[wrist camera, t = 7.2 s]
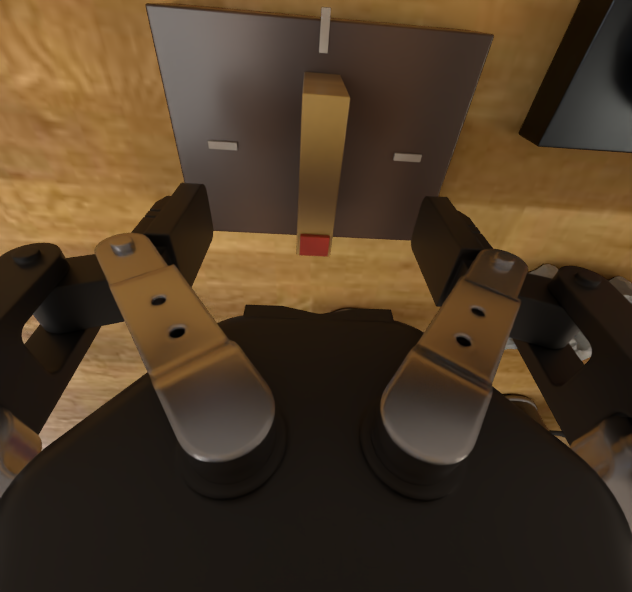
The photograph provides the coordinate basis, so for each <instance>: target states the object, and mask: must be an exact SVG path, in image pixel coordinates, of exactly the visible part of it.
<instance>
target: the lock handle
mask: <svg viewBox="0 0 632 592" xmlns="http://www.w3.org/2000/svg"><path fill="white" fill-rule="evenodd" d="M349 105H350V96H349V94H348V92H347V89H346V87H345V85H344V83H343V80H342V78H341V76H340V75H336V74H325V73H313V72H304V79H303V92H302V115H301V141H300V167H299V193H298V220H297V246H296V254H297V255H305V256H324V257H330V253H331V245H332V238H333V230H334V222H335V214H336V206H337V199H338V191H339V183H340V175H341V167H342V160H343V152H344V144H345V136H346V128H347V121H348V113H349Z"/></svg>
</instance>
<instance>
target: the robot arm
mask: <svg viewBox="0 0 632 592" xmlns="http://www.w3.org/2000/svg"><path fill="white" fill-rule="evenodd" d="M212 238H213V223H212V217H211V212H210V206H209V200H208V195H207V190H206V187H205V185H204V184H196V183H181V184H180V185H179V187H178V188H177V189H176V191H175V192H174V193H173V194H172V196H166V197H164V198H163V199H161V200H159V201H157V202H156V203H155V204H154V205H153V206H152V208H151V209H150V211H148V213H147V214H146V215H145V217H143V219H142V220H141V221H140V222H139V224H138V225H137V226H136V227H135V228H134V230H133V231H132V232H131V233H123V234H117V235H114V236H111V237H108V238H106V239H104V240H103V241H101V242H100V243H99V244H98V245H97V246H96V247H95V251H94V252H95V254H93V255H86V256H78V257H71V258H65V256H64V255H63V253H62V251H61V249H60V248H59V247H58V246H57V245H54V244H51V243H34V244H29V245H24V246H21V247H18V248H15V249H13V250H10V251H8V252H7V253H5V254H3V255H2V256H1V257H0V592H632V303H631V302H630V301H629V300H628V299H627V298H626V297H625V296H623V295H622V294H621V293H620V292H619V291H618V290H617V289H616V288H615V287H614V286H613V285H612V284H611V283H610V282H609V281H608V280H607V279H605V278H604V277H602V276H601V275H599V274H597V273H595V272H593V271H590V270H588V269H585V268H581V267H576V266H564V267H561V268H560V269H559V270H558V271H557V273H556V274H555V276H554V277H553V278H548V277H543V276H539V275H535V274H530V273H527V272H528V267H527V265H526V263H525V262H524V261H523V260H522V259H520V258H519V257H517V256H516V255H514V254H511V253H509V252H506V251H503V250H498V249H493V248H492V247H491V245H490V244H489V243H488V241H487V240H486V239H485V237H484V236H483V235H482V234H480V231H479V230H478V228H477V227H475V225H474V223H473V222H472V221H471V219H470V218H469V217H467V216H466V215H464V214H463V213H461V212H460V211H457V210H456V209H455V207H454V206H453V204H452V203H451V202H450V200H449V199H448V198H447V197H435V196H426V197H425V198H424V199H423V201H422V203H421V207H420V210H419V213H418V217H417V220H416V223H415V226H414V230H413V233H412V238H411V247H412V251H413V253H414V255H415V258H416V260H417V262H418V265H419V267H420V269H421V272H422V274H423V276H424V279H425V281H426V283H427V286H428V288H429V291H430V293H431V295H432V298H433V300H434V302H435V305H436V306H440V307H441V308H440V309H439V311H438V312H437V314H436V315H435V317H434V318H433V320H432V321H431V323H430V324H429V326H428V328H427V329H426V331H425V332H424V333H423V332H422V331H420V330H418V329H416V328H414V327H412V326H410V325H407V324H404V323H401V322H398V321H394V320H393V316H392V312H391V310H386V309H349V310H343V311H337V312H331V313H324V314H316V313H311V312H307V311H302V310H298V309H293V308H289V307H284V306H269V305H246V306H245V310H244V315H243V316H237V317H233V318H230V319H227V320H224V321H221V322H219V323H216V321H215V320H214V318H213V317H212V316H211V314H210V313H209V312H208V310H207V309H206V307H205V306H204V305H203V303H202V302H201V300H200V299H199V298H198V296H197V295H196V294H195V292H194V291H193V289H192V288H191V287H192V285H193V283H194V280H195V278H196V276H197V273H198V271H199V269H200V266H201V264H202V262H203V260H204V257H205V255H206V253H207V250H208V248H209V246H210V243H211V241H212ZM32 315H34V317H35V318H36V319H37V320H38V322H39V323H40V325H39V326H38V328H37V329H36V330H35V332H34V333H33V334H32V335H31V337H30V338H29V339H28V340H27V342H26V343H25V344H24V343H23V341H22V336H21V335H22V329H23V326H24V325H25V323H26V322H27V321H28V319H29V318H30V317H31V316H32ZM124 321H125V323H126V325H127V327H128V330H129V332H130V334H131V336H132V338H133V341H134V343H135V345H136V347H137V349H138V352H139V354H140V356H141V358H142V360H143V363H144V365H145V367H146V369H147V373H146V374H145V375H143V376H142V377H141V378H139V379H138V380H136V381H135V382H134V383H132V384H131V385H130V386H128V387H127V388H126V389H124V390H123V391H122V392H120V393H119V394H117V395H116V396H115V397H113V398H112V399H111V400H109V401H108V402H107V403H105V404H104V405H103V406H101V407H100V408H99V409H97V410H96V411H94V412H93V413H92V414H90V415H89V416H88V417H86V418H85V419H84V420H82V421H81V422H80V423H78V424H77V425H75V426H74V427H73V428H71V429H70V430H69V431H67V432H66V433H65V434H63V435H62V436H61V437H59V438H58V439H57V440H55V441H54V442H52V443H51V444H50V445H48V446H47V447H46V448H45V449H43V450H42V451H41V449H42V442H41V439H40V437H39V433H40V431H41V430H42V428H43V426H44V424H45V423H46V421H47V419H48V418H49V416H50V414H51V412H52V411H53V409H54V407H55V405H56V404H57V402H58V400H59V399H60V397H61V395H62V393H63V392H64V390H65V388H66V387H67V385H68V383H69V381H70V380H71V378H72V376H73V374H74V373H75V371H76V369H77V368H78V366H79V364H80V362H81V361H82V359H83V357H84V356H85V354H86V352H87V350H88V349H89V347H90V345H91V343H92V342H93V340H94V338H95V337H96V335H97V333H98V331H99V330H100V328H101V326H104V325H109V324H114V323H119V322H124ZM579 331H581V332H582V334H583V335H584V336H585V337H586V339H587V340H588V341H589V343H590V345H591V349H592V354H591V358H590V360H589V361H588V362H587V363H586V364H585V365H584V364H583V362H582V361H581V359H580V358H579V357H578V355H577V354H576V352H575V351H574V350H573V348H572V347H571V345H570V344H569V342H570V341H571V340H572V339H573V338H574V337H575V336H576V334H577V333H578V332H579ZM508 338H513V341H514V343H515V345H516V347H517V349H518V351H519V352H520V354H521V356H522V358H523V360H524V362H525V364H526V365H527V367H528V369H529V371H530V373H531V375H532V376H533V378H534V380H535V382H536V384H537V386H538V388H539V389H540V391H541V393H542V395H543V397H544V399H545V401H546V402H547V404H548V406H549V408H550V410H551V412H552V414H553V415H554V417H555V419H556V421H557V423H558V425H559V426H560V428H561V430H562V431H549V430H548V429H547V427H546V425H545V423H544V421H543V420H542V418H541V416H540V414H539V413H538V411H537V407H536V405H535V404H534V402H533V401H532V400H531V399H529V398H527V397H523V396H516V395H506V396H504V395H503V394H501V393H500V392H499V391H498V390H496V389H495V388H494V387H493V386H492V382H493V380H494V377H495V374H496V371H497V368H498V366H499V363H500V360H501V357H502V355H503V352H504V349H505V346H506V343H507V341H508ZM554 435H557V436H562V437H565V438H566V439H567V441H568V443H569V445H570V448H569V447H568V446H567V445H565V444H564V443H563V442H562V441H560V440H559V439H558V438H557V437H555V436H554Z"/></svg>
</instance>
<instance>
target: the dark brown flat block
mask: <svg viewBox="0 0 632 592" xmlns="http://www.w3.org/2000/svg"><path fill="white" fill-rule="evenodd" d="M146 10H147V15H148V19H149V24H150V28H151V33H152V37H153V42H154V46H155V51H156V55H157V60H158V64H159V69H160V73H161V78H162V82H163V87H164V91H165V96H166V100H167V105H168V109H169V114H170V118H171V123H172V128H173V132H174V137H175V141H176V146H177V150H178V155H179V159H180V164H181V168H182V173H183V177H184V182H185V183H196V184H204V185H205V187H206V190H207V195H208V200H209V206H210V212H211V217H212V223H213V231H229V232H249V233H269V234H290V235H297V220H298V193H299V167H300V141H301V115H302V92H303V79H304V72H313V73H325V74H336V75H340V76H341V78H342V80H343V83H344V85H345V87H346V89H347V92H348V94H349V96H350V105H349V113H348V121H347V128H346V136H345V144H344V152H343V160H342V167H341V175H340V183H339V191H338V199H337V206H336V214H335V222H334V230H333V237H350V238H370V239H390V240H410V241H411V238H412V233H413V230H414V226H415V223H416V220H417V217H418V213H419V210H420V207H421V203H422V201H423V199H424V198H425V197H426V196H435V197H438V195H439V192H440V189H441V186H442V184H443V181H444V178H445V175H446V172H447V169H448V166H449V164H450V161H451V158H452V155H453V152H454V149H455V146H456V144H457V141H458V138H459V135H460V132H461V129H462V126H463V124H464V121H465V118H466V115H467V112H468V109H469V106H470V103H471V101H472V98H473V95H474V92H475V89H476V86H477V83H478V81H479V78H480V75H481V72H482V69H483V66H484V63H485V61H486V58H487V55H488V52H489V49H490V46H491V43H492V41H493V38H494V35H493V34H488V33H482V32H476V31H470V30H460V29H449V28H438V27H427V26H416V25H405V24H394V23H382V22H371V21H360V20H349V19H338V18H330V14H331V8H327V7H322V9H321V17H316V16H304V15H293V14H282V13H271V12H260V11H249V10H238V9H226V8H215V7H204V6H193V5H182V4H170V3H147V4H146Z"/></svg>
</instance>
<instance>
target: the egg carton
mask: <svg viewBox="0 0 632 592" xmlns="http://www.w3.org/2000/svg"><path fill="white" fill-rule="evenodd" d="M557 271H558V269H557V268H556V267H555V266H552V265H550V264H545V265H543V266H541V267H540V268H538V269H537V270H534V271H532V272H530V274H535V275H539V276H543V277H548V278H553V277H554V276H555V274H556V273H557ZM609 282H610V283H611V284H612V285H613V286H614V287H615V288H616V289H617V290H618V291H619V292H620V293H621V294H622V295H623V296H625V297H626V298H627V299H628V300H629V301H630V302H631V303H632V283H631V282H630V281H628V280H626V279H625V278H623V277H614V278H613V279H611V280H609ZM569 344H570V345H571V347H572V348H573V350H574V351H575V352H576V354H577V355H578V357H579V358H580V359H581V360H585V359H587V358H589V357H591V354H592V349H591V345H590V343H589V341H588V340H587V339H586V337H585V336H584V335H583V334H582V332H581V331H579V332H578V333H577V334H576V336H575V337H574V338H573V339H572V340H571V341H570V342H569ZM505 349H517V347H516V345H515V343H514V341H513V338H508V341H507V343H506V346H505ZM505 349H504V350H505Z"/></svg>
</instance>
